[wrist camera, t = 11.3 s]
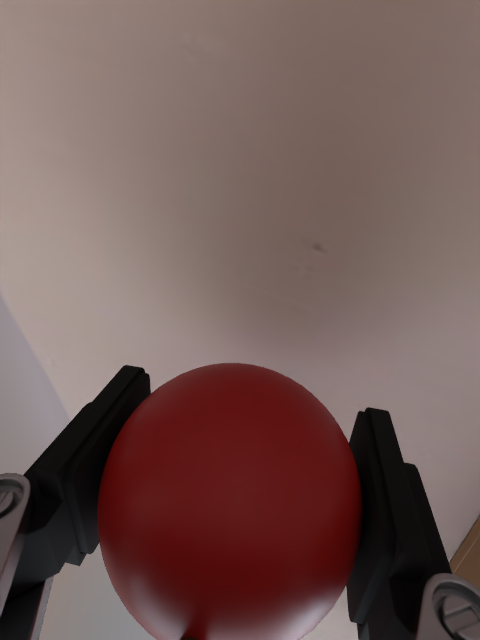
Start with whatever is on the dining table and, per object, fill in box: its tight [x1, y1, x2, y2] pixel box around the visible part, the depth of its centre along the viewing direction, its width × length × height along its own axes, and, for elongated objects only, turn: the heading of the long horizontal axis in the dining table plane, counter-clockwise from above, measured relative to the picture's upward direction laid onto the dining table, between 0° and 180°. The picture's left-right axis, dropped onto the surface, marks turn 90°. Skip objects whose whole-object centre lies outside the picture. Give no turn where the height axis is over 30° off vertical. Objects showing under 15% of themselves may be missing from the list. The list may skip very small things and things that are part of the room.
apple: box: [97, 363, 363, 640], centre depth 8 cm, size 6×6×7 cm
